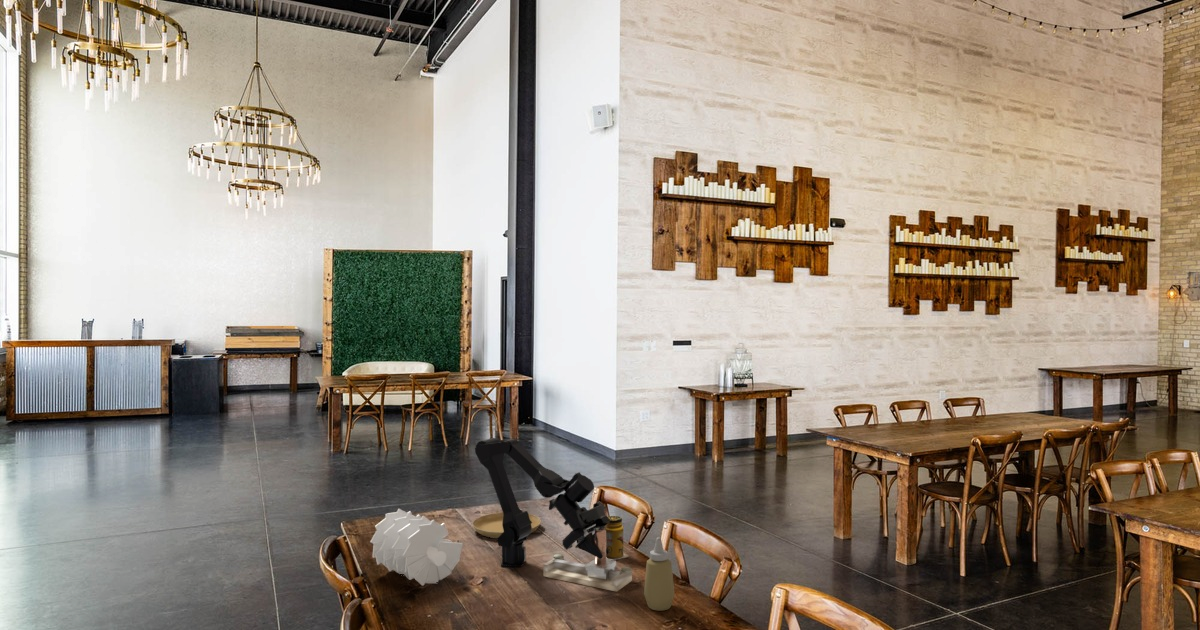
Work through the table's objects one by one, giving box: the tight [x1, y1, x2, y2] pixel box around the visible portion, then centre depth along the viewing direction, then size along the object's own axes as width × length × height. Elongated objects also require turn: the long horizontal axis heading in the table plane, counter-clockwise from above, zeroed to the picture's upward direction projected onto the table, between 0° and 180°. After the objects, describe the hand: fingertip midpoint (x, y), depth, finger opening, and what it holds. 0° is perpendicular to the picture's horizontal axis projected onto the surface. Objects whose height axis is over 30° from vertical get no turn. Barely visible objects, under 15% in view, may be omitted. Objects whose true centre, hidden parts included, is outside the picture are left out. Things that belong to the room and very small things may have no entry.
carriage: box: [585, 529, 617, 580], centre depth 206 cm, size 6×7×13 cm
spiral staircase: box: [369, 507, 464, 587], centre depth 212 cm, size 18×18×25 cm
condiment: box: [604, 515, 630, 561], centre depth 227 cm, size 7×8×12 cm
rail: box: [542, 553, 633, 592], centre depth 208 cm, size 26×9×4 cm, turn 60°
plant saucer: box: [471, 511, 542, 539], centre depth 255 cm, size 24×24×3 cm
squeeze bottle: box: [643, 537, 675, 612], centre depth 188 cm, size 8×8×18 cm
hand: (604, 555), depth 205 cm, fingers closed on carriage, 3 cm apart
